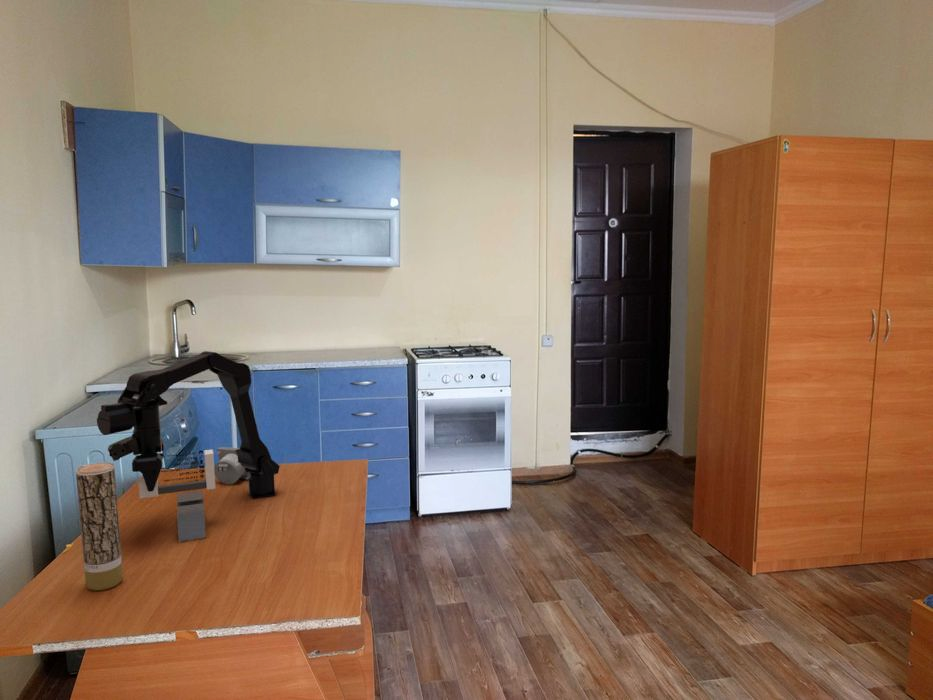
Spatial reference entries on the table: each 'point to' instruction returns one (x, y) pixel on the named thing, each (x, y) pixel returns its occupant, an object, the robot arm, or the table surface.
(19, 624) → the table surface
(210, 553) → the table surface
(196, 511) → the block
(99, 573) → the wooden log
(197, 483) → the grey rod with blocks
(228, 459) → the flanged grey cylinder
